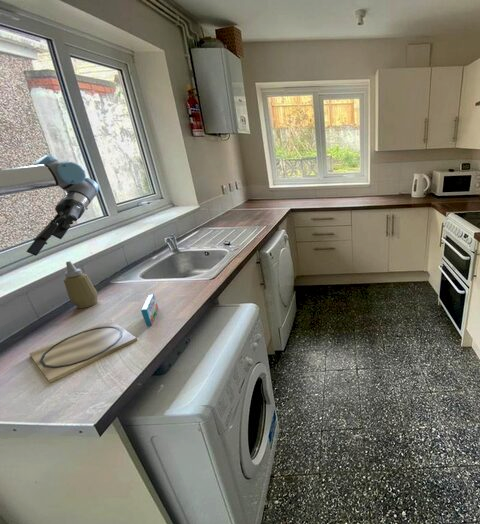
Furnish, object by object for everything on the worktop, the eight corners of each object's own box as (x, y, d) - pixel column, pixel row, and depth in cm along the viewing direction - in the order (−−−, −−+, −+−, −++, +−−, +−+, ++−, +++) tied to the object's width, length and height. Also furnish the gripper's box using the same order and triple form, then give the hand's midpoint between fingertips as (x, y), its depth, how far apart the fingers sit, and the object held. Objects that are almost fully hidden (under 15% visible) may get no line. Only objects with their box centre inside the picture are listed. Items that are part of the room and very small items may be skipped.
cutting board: (30, 355, 84) (28, 352, 83) (111, 321, 99) (110, 318, 98) (50, 383, 73) (48, 379, 73) (137, 340, 88) (136, 337, 88)
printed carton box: (154, 309, 105) (148, 294, 103) (158, 308, 106) (153, 293, 104) (146, 326, 95) (140, 310, 93) (152, 325, 96) (146, 309, 93)
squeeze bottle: (89, 310, 107) (68, 265, 100) (68, 310, 107) (46, 266, 100) (106, 299, 115) (88, 257, 108) (86, 299, 115) (67, 258, 108)
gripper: (104, 198, 111) (80, 235, 97) (63, 226, 117) (35, 265, 103) (82, 184, 106) (53, 221, 92) (40, 214, 112) (7, 254, 98)
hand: (43, 245), depth 98 cm, fingers open, 13 cm apart
